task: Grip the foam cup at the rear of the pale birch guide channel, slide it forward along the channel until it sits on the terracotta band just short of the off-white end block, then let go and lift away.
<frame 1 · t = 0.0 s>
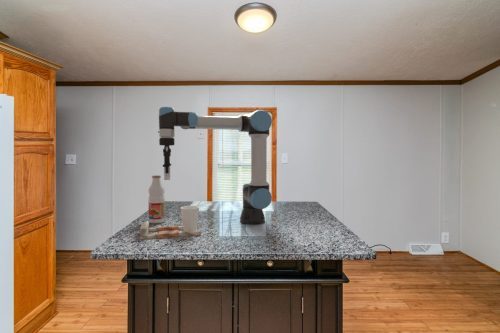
hand: (167, 179, 153), 28 cm above the countertop, tool pointing down, fingers open, 13 cm apart
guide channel: (176, 232, 153), on the countertop
fruit juice: (157, 222, 178), on the countertop
foam cup: (190, 232, 155), resting on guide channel
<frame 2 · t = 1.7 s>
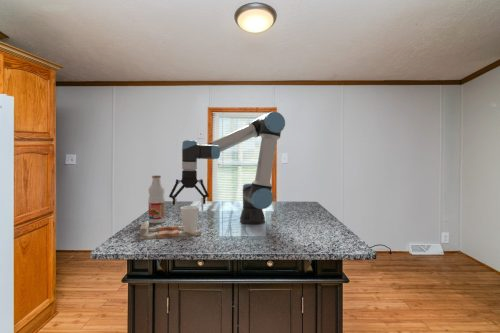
hand: (189, 210, 154), 11 cm above the countertop, tool pointing down, fingers open, 13 cm apart
nothing on the countertop moved.
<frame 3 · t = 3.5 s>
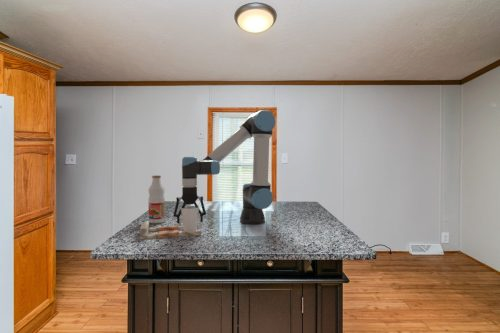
hand: (190, 229, 155), 2 cm above the countertop, tool pointing down, fingers closed on foam cup, 9 cm apart
foam cup: (190, 232, 155), resting on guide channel, touching gripper
everything else where it was.
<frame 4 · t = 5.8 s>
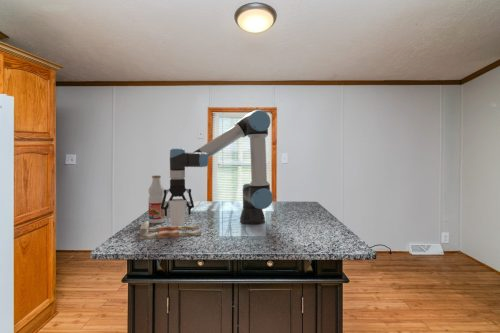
hand: (177, 221, 153), 6 cm above the countertop, tool pointing down, fingers closed on foam cup, 9 cm apart
foam cup: (177, 225, 153), point 4 cm above the countertop, touching gripper
everything else where it was.
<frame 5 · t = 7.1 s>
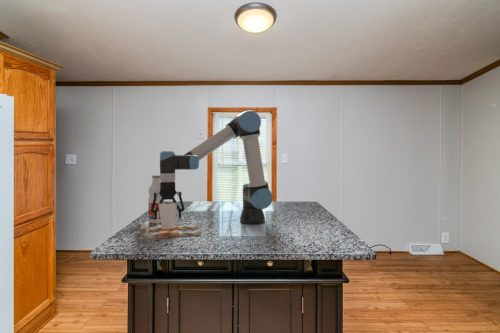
hand: (168, 224, 152), 4 cm above the countertop, tool pointing down, fingers closed on foam cup, 9 cm apart
foam cup: (168, 228, 152), point 3 cm above the countertop, touching gripper
everything else where it was.
when the fingers open (3 cm above the countertop, at t = 8.1 s): foam cup drops 1 cm, resting on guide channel.
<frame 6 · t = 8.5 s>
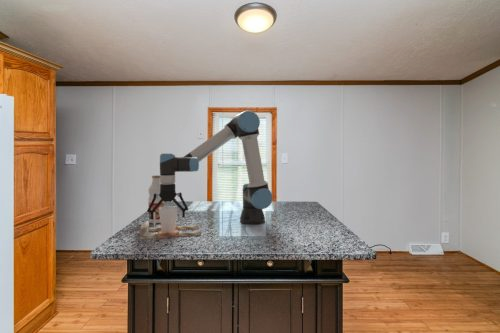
hand: (168, 224, 152), 4 cm above the countertop, tool pointing down, fingers open, 13 cm apart
foam cup: (168, 233, 152), resting on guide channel
everything else where it was.
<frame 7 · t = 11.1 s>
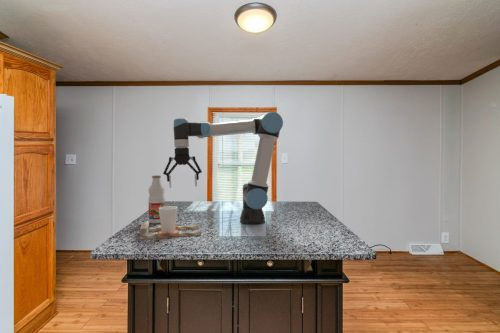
hand: (183, 186, 160), 23 cm above the countertop, tool pointing down, fingers open, 13 cm apart
nothing on the countertop moved.
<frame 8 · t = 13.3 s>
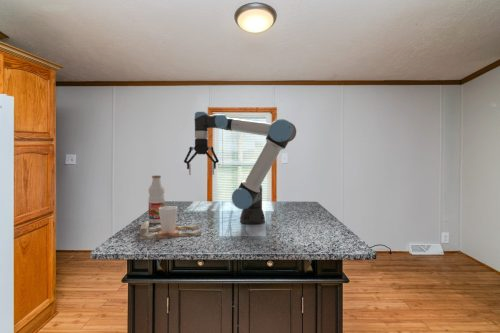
hand: (201, 174, 174), 29 cm above the countertop, tool pointing down, fingers open, 13 cm apart
nothing on the countertop moved.
at the end: foam cup inside the target area (0.6 cm from its centre), resting on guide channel; foam cup tilted 0°; the gripper is holding nothing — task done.
